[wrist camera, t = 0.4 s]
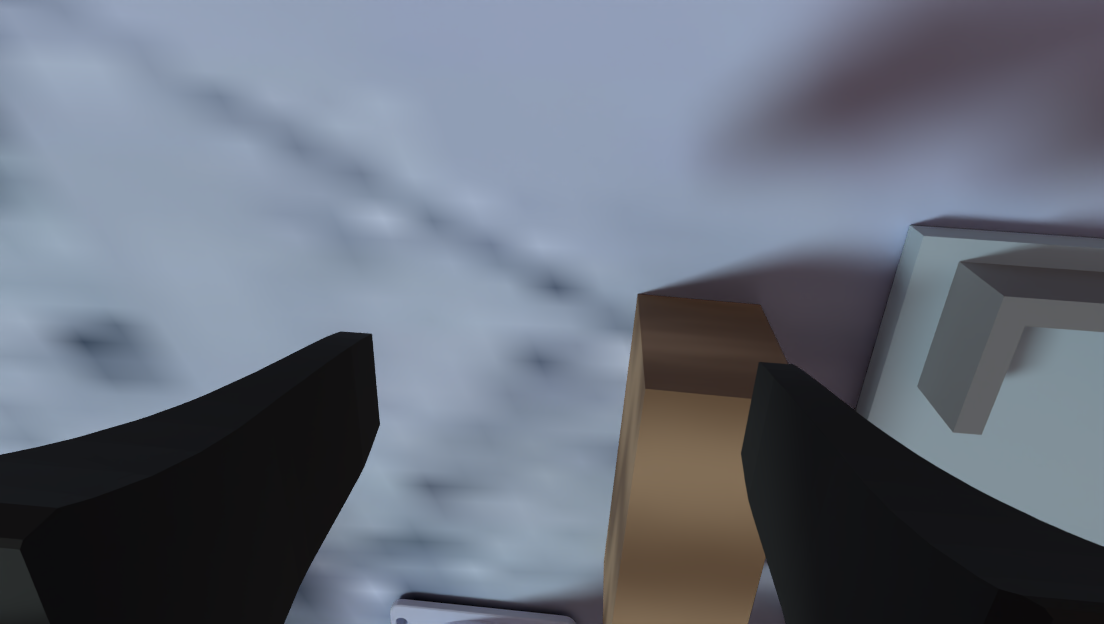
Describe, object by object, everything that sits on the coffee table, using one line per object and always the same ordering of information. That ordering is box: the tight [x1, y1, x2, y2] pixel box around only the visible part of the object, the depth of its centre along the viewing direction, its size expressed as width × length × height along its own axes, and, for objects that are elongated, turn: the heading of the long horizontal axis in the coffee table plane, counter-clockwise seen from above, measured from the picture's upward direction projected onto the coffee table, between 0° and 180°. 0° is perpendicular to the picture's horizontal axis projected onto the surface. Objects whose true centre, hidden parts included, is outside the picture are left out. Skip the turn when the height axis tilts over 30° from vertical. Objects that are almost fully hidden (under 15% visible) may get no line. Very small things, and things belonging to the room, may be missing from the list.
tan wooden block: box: [603, 294, 788, 624], centre depth 22 cm, size 12×4×6 cm, turn 176°
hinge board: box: [856, 225, 1104, 546], centre depth 22 cm, size 18×10×4 cm, turn 177°
